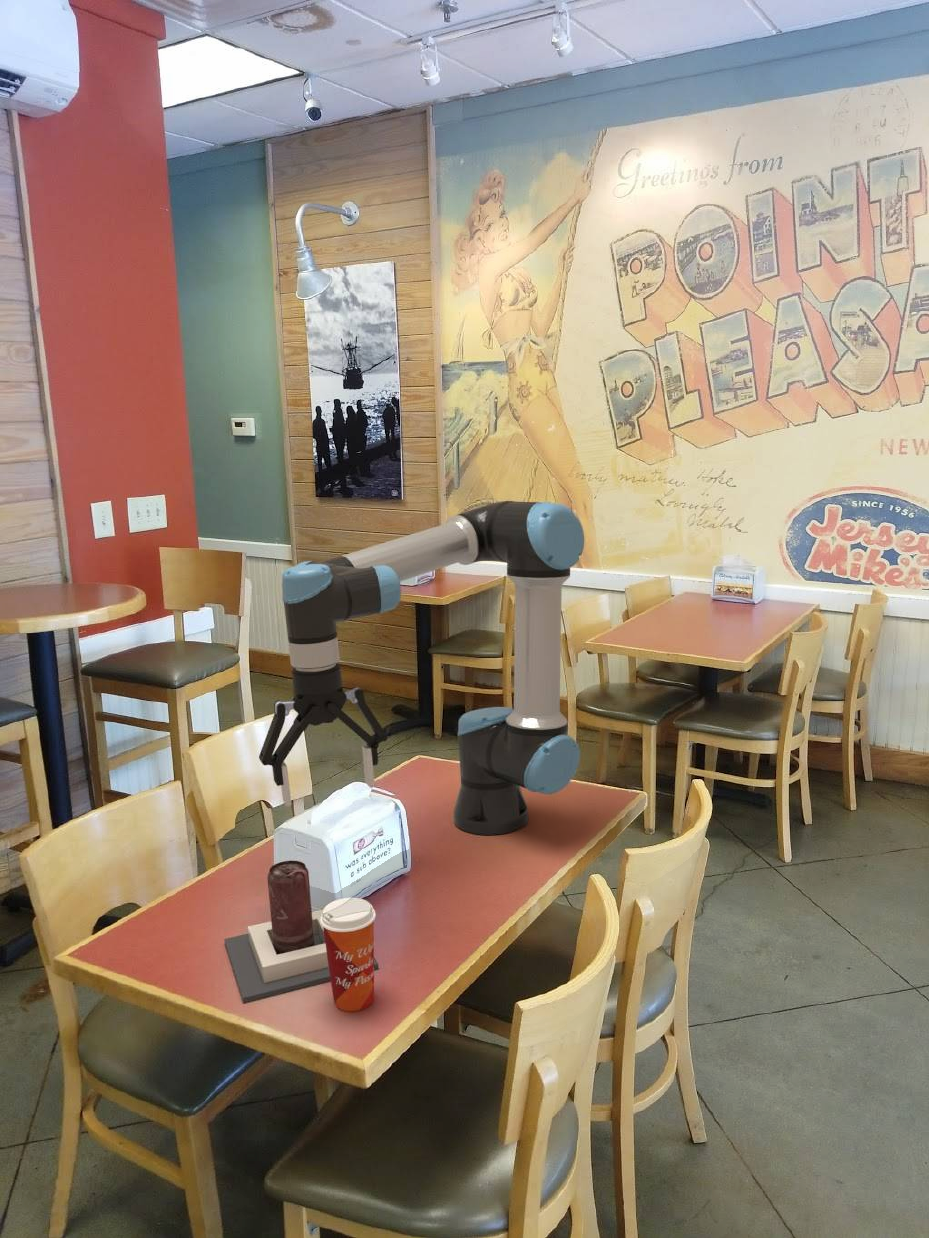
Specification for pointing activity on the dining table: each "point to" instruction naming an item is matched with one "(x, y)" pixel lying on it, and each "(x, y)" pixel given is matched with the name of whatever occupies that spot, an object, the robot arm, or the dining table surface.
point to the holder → (287, 962)
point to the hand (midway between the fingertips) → (329, 793)
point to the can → (290, 906)
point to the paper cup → (350, 952)
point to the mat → (252, 978)
